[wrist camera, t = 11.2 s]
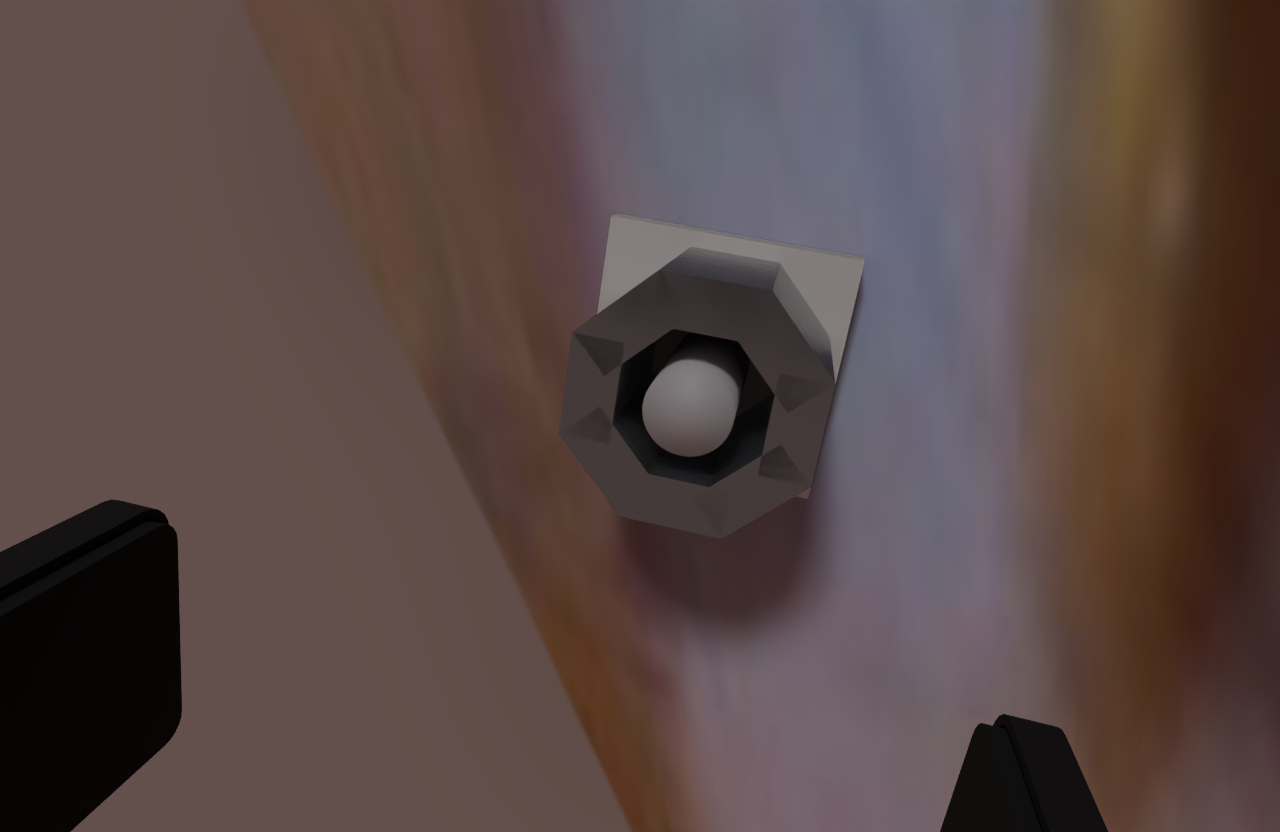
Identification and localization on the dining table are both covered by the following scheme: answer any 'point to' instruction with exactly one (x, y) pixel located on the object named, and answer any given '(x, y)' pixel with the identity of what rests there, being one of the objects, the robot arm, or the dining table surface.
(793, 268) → the shaft block
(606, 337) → the ring
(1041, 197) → the dining table surface
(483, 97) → the dining table surface
